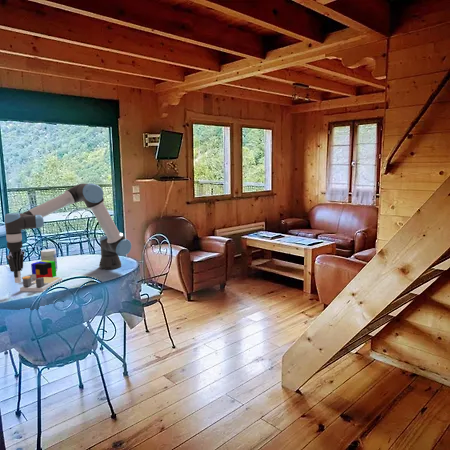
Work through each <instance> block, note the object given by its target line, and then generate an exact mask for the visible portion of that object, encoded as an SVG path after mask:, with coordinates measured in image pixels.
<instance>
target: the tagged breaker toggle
mask: <svg viewBox="0 0 450 450" xmlns="http://www.w3.org/2000/svg"><path fill="white" fill-rule="evenodd" d="M21 279H22V284H23V285H22V287H23V286H24V287H28V286H30V285H31V282H32V275H29V276H28V275H26V276H23V277H21Z"/></svg>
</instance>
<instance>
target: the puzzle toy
mask: <svg viewBox="0 0 450 450" xmlns="http://www.w3.org/2000/svg"><path fill="white" fill-rule="evenodd" d="M30 266H31V280H36V279H37V278H41V277H42V278H43V277H57V271H56V265H55V261H46V260H43V261H42V260H40V261H36V262H32V263H31V264H30Z"/></svg>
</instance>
